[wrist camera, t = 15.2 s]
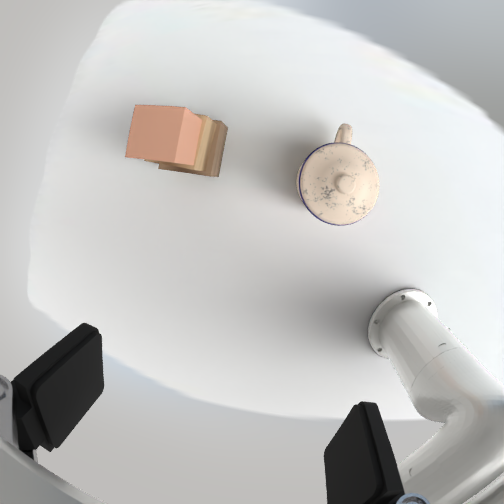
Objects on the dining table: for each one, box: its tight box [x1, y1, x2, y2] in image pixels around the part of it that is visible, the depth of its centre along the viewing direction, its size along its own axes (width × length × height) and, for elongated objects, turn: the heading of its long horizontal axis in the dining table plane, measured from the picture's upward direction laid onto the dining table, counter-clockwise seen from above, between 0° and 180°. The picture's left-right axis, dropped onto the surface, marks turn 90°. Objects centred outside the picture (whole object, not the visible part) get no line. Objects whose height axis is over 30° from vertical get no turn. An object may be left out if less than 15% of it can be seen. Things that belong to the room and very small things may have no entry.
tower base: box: [158, 120, 228, 177], centre depth 36 cm, size 7×7×5 cm
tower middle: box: [144, 114, 217, 171], centre depth 31 cm, size 6×6×5 cm
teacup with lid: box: [296, 124, 379, 225], centre depth 32 cm, size 12×9×12 cm
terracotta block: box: [125, 105, 202, 165], centre depth 26 cm, size 5×5×6 cm
